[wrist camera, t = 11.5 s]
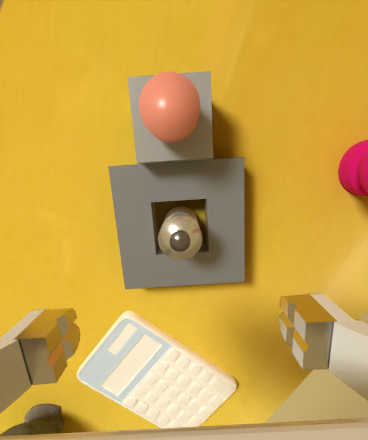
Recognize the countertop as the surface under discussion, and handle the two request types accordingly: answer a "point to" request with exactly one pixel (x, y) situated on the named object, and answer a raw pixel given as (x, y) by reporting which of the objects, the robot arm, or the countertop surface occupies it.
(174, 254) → the cell
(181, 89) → the plunger
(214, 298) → the countertop surface
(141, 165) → the grey stepped block frame
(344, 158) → the pepper mill
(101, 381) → the calculator
